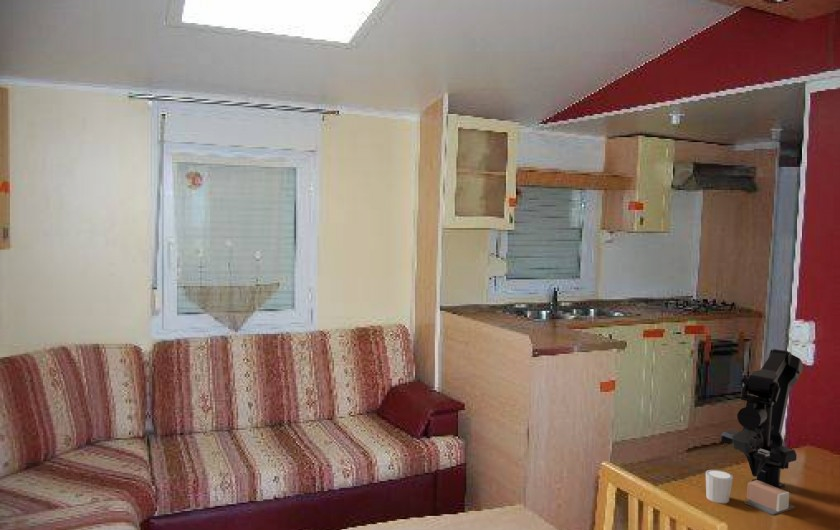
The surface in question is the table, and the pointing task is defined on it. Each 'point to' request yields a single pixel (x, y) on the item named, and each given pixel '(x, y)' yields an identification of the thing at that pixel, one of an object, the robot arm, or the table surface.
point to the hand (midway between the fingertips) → (755, 476)
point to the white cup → (718, 486)
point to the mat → (766, 509)
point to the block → (768, 495)
